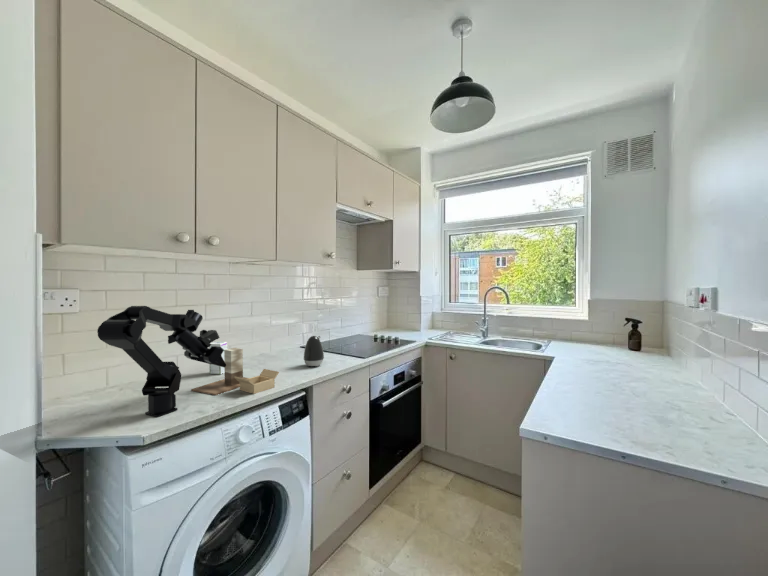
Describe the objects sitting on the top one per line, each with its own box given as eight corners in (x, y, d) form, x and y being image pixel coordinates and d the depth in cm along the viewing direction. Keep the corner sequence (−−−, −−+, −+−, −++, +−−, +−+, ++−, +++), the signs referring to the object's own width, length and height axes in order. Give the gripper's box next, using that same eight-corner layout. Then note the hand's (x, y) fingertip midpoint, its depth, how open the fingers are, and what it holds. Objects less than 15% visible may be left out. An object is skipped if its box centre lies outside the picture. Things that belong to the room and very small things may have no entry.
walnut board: (216, 395, 117) (216, 393, 117) (191, 390, 123) (191, 389, 123) (258, 380, 136) (258, 379, 136) (234, 377, 141) (234, 375, 141)
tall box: (231, 385, 127) (231, 351, 127) (224, 383, 130) (224, 349, 130) (243, 382, 131) (242, 348, 131) (236, 380, 134) (235, 347, 134)
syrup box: (228, 371, 151) (227, 341, 151) (220, 374, 145) (220, 343, 145) (216, 371, 152) (216, 341, 152) (208, 374, 146) (208, 343, 146)
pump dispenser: (328, 364, 164) (327, 334, 164) (316, 369, 154) (315, 337, 154) (312, 362, 168) (311, 333, 168) (299, 367, 159) (299, 336, 159)
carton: (248, 395, 117) (248, 380, 117) (234, 391, 122) (233, 376, 122) (279, 385, 128) (279, 371, 128) (264, 382, 133) (264, 368, 133)
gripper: (218, 325, 115) (246, 350, 125) (192, 322, 126) (219, 346, 135) (195, 350, 109) (226, 374, 118) (170, 345, 119) (200, 368, 128)
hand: (218, 364), depth 125 cm, fingers open, 9 cm apart
